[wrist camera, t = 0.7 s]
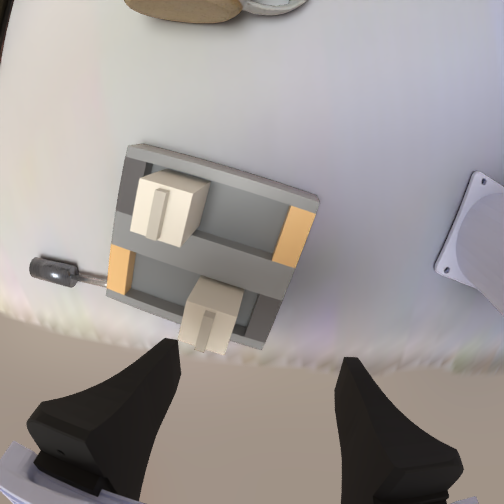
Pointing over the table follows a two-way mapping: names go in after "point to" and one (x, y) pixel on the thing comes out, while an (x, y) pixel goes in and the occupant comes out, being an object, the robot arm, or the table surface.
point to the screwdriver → (60, 273)
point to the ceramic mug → (206, 9)
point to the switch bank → (212, 243)
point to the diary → (4, 20)
